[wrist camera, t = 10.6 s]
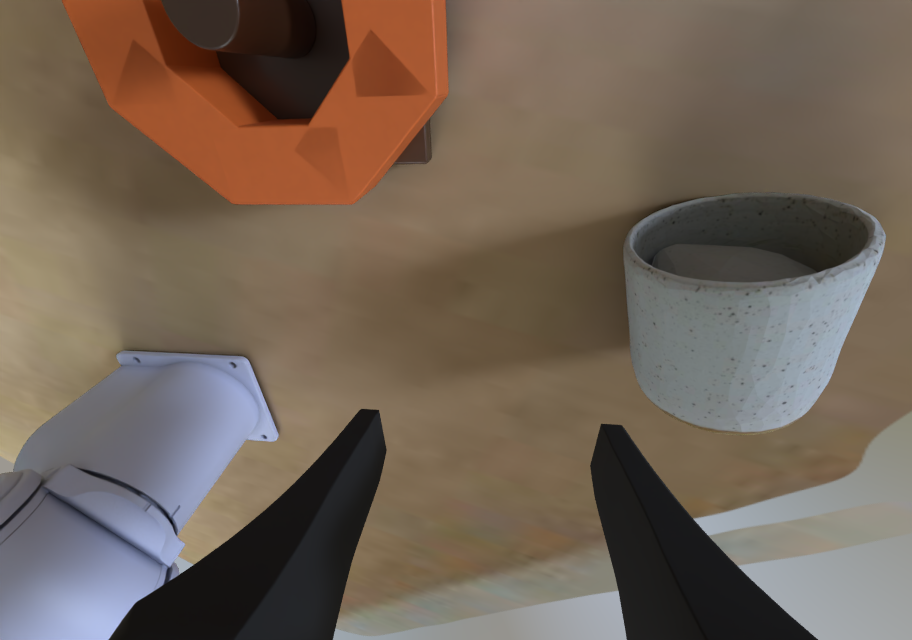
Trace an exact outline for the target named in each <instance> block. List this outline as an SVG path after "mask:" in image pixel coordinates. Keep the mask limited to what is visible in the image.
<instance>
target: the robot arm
mask: <svg viewBox="0 0 912 640" xmlns="http://www.w3.org/2000/svg"><path fill="white" fill-rule="evenodd" d="M116 357H117V360H118V361H119V363H120V364H121V367H119V368H118V369H117V370H115V371H114V372H112V373H111V374H110V375H108V376H107V377H106V378H104V379H103V380H102V381H100V382H99V383H98V384H96V385H95V386H94V387H92V388H91V389H90V390H88V391H87V392H86V393H84V394H83V395H82V396H80V397H79V398H78V399H76V400H75V401H74V402H72V403H71V404H70V405H68V406H67V407H66V408H64V409H63V410H62V411H60V412H59V413H58V414H56V415H55V416H54V417H52V418H51V419H50V420H48V421H47V422H46V423H44V424H43V425H42V426H41V427H40V428H38V429H37V430H36V431H35V432H34V433H33V434H32V435H31V436H30V438H29V439H28V440H27V442H26V443H25V444H24V446H23V448H22V449H21V451H20V453H19V455H18V457H17V459H16V462H15V465H14V469H13V472H9V473H2V474H0V640H333V636H334V631H335V627H336V623H337V619H338V615H339V611H340V606H341V602H342V598H343V594H344V590H345V586H346V582H347V578H348V574H349V571H350V567H351V563H352V560H353V556H354V553H355V550H356V547H357V544H358V541H359V538H360V536H361V533H362V530H363V527H364V524H365V521H366V519H367V516H368V513H369V510H370V507H371V504H372V502H373V499H374V496H375V493H376V490H377V487H378V484H379V481H380V477H381V473H382V469H383V464H384V460H385V455H386V445H385V440H384V435H383V429H382V424H381V418H380V413H379V410H370V409H361V410H360V411H359V412H358V413H357V414H356V415H355V416H354V418H353V419H352V420H351V421H350V422H349V424H348V425H347V426H346V427H345V428H344V430H343V431H342V432H341V433H340V434H339V436H338V437H337V438H336V439H335V440H334V441H333V443H332V444H331V445H330V446H329V447H328V448H327V449H326V450H325V451H324V453H323V454H322V455H321V456H320V457H319V458H318V459H317V460H316V461H315V462H314V464H313V465H312V466H311V467H310V468H309V469H308V470H307V471H306V472H305V473H304V474H303V475H302V476H301V477H300V478H299V479H298V480H297V481H296V482H295V483H294V484H293V485H292V486H291V487H290V488H289V489H288V490H287V491H286V492H285V493H284V494H282V495H281V496H280V497H279V498H278V499H277V500H276V501H275V502H274V503H273V504H271V505H270V506H269V507H268V508H267V509H266V510H265V511H263V512H262V513H261V514H260V515H259V516H257V517H256V518H255V519H254V520H253V521H251V522H250V523H249V524H248V525H247V526H245V527H244V528H243V529H242V530H240V531H239V532H238V533H237V534H235V535H234V536H233V537H231V538H230V539H229V540H228V541H226V542H225V543H223V544H222V545H221V546H219V547H218V548H217V549H215V550H214V551H212V552H211V553H210V554H208V555H207V556H206V557H204V558H203V559H201V560H200V561H199V562H197V563H196V564H194V565H193V566H192V567H190V568H189V569H187V570H186V571H184V572H183V573H181V574H180V575H179V569H178V567H177V565H176V564H175V563H174V561H175V559H176V557H177V556H178V555H179V553H180V552H181V551H182V549H183V548H184V546H185V543H184V542H182V541H181V540H180V539H179V538H178V537H177V535H178V534H179V532H180V531H181V530H182V528H183V527H184V526H185V524H186V523H187V521H188V520H189V519H190V517H191V516H192V514H193V513H194V512H195V510H196V509H197V507H198V506H199V505H200V503H201V502H202V500H203V499H204V498H205V496H206V495H207V493H208V492H209V491H210V489H211V488H212V486H213V485H214V484H215V482H216V481H217V479H218V478H219V477H220V475H221V474H222V473H223V471H224V470H225V468H226V467H227V466H228V464H229V463H230V461H231V460H232V459H233V457H234V456H235V454H236V453H237V452H238V450H239V449H240V447H241V446H242V445H243V443H244V442H245V440H257V441H271V442H273V441H276V440H277V438H278V437H279V434H278V432H277V429H276V427H275V424H274V422H273V419H272V417H271V414H270V412H269V409H268V407H267V404H266V402H265V399H264V397H263V394H262V392H261V389H260V387H259V384H258V382H257V379H256V377H255V374H254V372H253V370H252V367H251V365H250V362H249V361H248V359H246V358H245V357H242V356H225V355H205V354H185V353H164V352H144V351H121V352H119V353H118V354H117V355H116ZM590 467H591V474H592V482H593V488H594V495H595V500H596V504H597V508H598V512H599V516H600V520H601V524H602V527H603V531H604V535H605V539H606V543H607V546H608V550H609V554H610V558H611V561H612V565H613V569H614V573H615V577H616V581H617V586H618V590H619V596H620V602H621V607H622V613H623V619H624V625H625V630H626V637H627V640H818V639H816V638H815V637H814V636H813V635H812V634H810V633H809V632H808V631H807V630H806V629H805V628H804V627H803V626H801V625H800V624H799V623H798V622H797V621H796V620H794V619H793V618H792V617H791V616H790V615H789V614H788V613H786V612H785V611H784V610H783V609H782V608H781V607H780V606H779V605H778V604H777V603H776V602H775V601H774V600H772V599H771V598H770V597H769V596H768V595H767V594H766V593H765V592H764V591H763V590H762V589H761V588H759V587H758V586H757V585H756V584H755V583H754V582H753V581H752V580H751V579H750V578H749V577H748V576H747V575H746V574H745V573H744V572H743V571H742V570H741V569H739V567H738V566H737V565H736V564H735V563H734V562H733V561H732V560H731V559H730V558H729V557H728V556H727V555H726V554H725V553H724V552H723V551H722V550H721V549H720V548H719V547H718V546H717V545H716V544H715V543H714V542H713V541H712V539H711V538H710V537H709V536H708V535H707V534H706V533H705V532H704V531H703V530H702V529H701V527H700V526H699V525H698V524H697V523H696V522H695V521H694V519H693V518H692V517H691V516H690V515H689V514H688V512H687V511H686V510H685V509H684V508H683V506H682V505H681V504H680V503H679V502H678V500H677V499H676V498H675V497H674V495H673V494H672V493H671V492H670V490H669V489H668V488H667V487H666V485H665V484H664V483H663V481H662V480H661V479H660V478H659V476H658V475H657V474H656V472H655V471H654V470H653V468H652V467H651V466H650V464H649V463H648V462H647V460H646V459H645V457H644V456H643V455H642V453H641V452H640V450H639V449H638V448H637V446H636V445H635V443H634V442H633V440H632V439H631V438H630V436H629V435H628V433H627V432H626V430H625V429H624V428H623V426H622V425H611V424H601V426H600V430H599V434H598V438H597V442H596V446H595V450H594V453H593V457H592V461H591V465H590Z"/></svg>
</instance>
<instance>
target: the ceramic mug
mask: <svg viewBox="0 0 912 640" xmlns="http://www.w3.org/2000/svg"><path fill="white" fill-rule="evenodd" d="M885 239H886V235H885V233H884V231H883V229H882V227H881V224H880V223H879V222H878V221H877V219H876V218H875V217H874V216H872V215H870V214H869V213H867V212H865V211H863V210H861V209H860V208H858V207H856V206H853V205H850V204H846V203H842V202H839V201H835V200H831V199H828V198H821V197H816V196H811V195H804V194H789V193H775V192H771V193H757V192H756V193H734V194H728V195H721V196H715V197H707V198H700V199H696V200H692V201H688V202H683V203H680V204H677V205H672V206H670V207H668V208H665V209H661V210H659V211H657V212H654V213H652V214H651V215H649V216H648V217H646V218H644V219H642V220H641V221H639V222H638V223H637V224H635V225H634V226H633V227H632V228H631V230H630V231H629V233H628V234H627V236H626V239H625V241H624V246H623V254H624V267H625V278H626V294H627V309H628V319H629V331H630V351H631V359H632V364H633V367H634V370H635V375H636V378H637V381H638V383H639V385H640V387H641V389H642V390H643V392H644V393H645V395H646V396H647V398H648V399H649V400H650V401H651V402H652V403H653V404H654V405H655V406H657V407H658V408H659V409H660V410H661V411H663V412H664V413H666V414H667V415H669V416H671V417H672V418H674V419H676V420H678V421H680V422H683V423H685V424H688V425H690V426H692V427H695V428H698V429H702V430H706V431H709V432H713V433H720V434H729V435H754V434H762V433H769V432H772V431H775V430H778V429H781V428H784V427H787V426H789V425H790V424H792V423H793V422H795V421H797V420H798V419H800V418H801V417H802V416H803V415H804V414H805V413H806V412H807V411H808V410H809V409H810V408H811V407H812V405H813V404H814V403H815V402H816V400H817V399H818V397H819V396H820V394H821V393H822V391H823V390H824V388H825V387H826V385H827V384H828V382H829V380H830V378H831V375H832V373H833V371H834V368H835V365H836V362H837V359H838V356H839V353H840V350H841V347H842V345H843V343H844V340H845V338H846V336H847V334H848V331H849V329H850V327H851V325H852V322H853V320H854V318H855V316H856V313H857V311H858V309H859V307H860V304H861V302H862V300H863V298H864V295H865V293H866V291H867V288H868V286H869V284H870V282H871V280H872V277H873V275H874V273H875V271H876V268H877V266H878V263H879V261H880V258H881V256H882V253H883V249H884V245H885Z"/></svg>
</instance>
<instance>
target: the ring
mask: <svg viewBox="0 0 912 640" xmlns="http://www.w3.org/2000/svg"><path fill="white" fill-rule="evenodd" d="M62 2H63V5H64V7H65V9H66V11H67V13H68V16H69V18H70V20H71V22H72V24H73V27H74V29H75V31H76V33H77V36H78V38H79V40H80V42H81V44H82V47H83V49H84V51H85V53H86V56H87V58H88V60H89V62H90V64H91V67H92V69H93V71H94V73H95V75H96V78H97V80H98V82H99V84H100V87H101V89H102V91H103V93H104V95H105V98H106V100H107V102H108V104H109V106H110V107H111V108H112V109H113V110H114V111H116V112H117V113H118V114H120V115H121V116H122V117H123V118H125V119H126V120H127V121H128V122H130V123H131V124H132V125H133V126H135V127H136V128H137V129H138V130H140V131H141V132H142V133H144V134H145V135H146V136H147V137H149V138H150V139H151V140H152V141H154V142H155V143H156V144H157V145H159V146H160V147H161V148H162V149H164V150H165V151H166V152H168V153H169V154H170V155H171V156H173V157H174V158H175V159H176V160H178V161H179V162H180V163H181V164H183V165H184V166H185V167H186V168H188V169H189V170H190V171H192V172H193V173H194V174H195V175H197V176H198V177H199V178H200V179H202V180H203V181H204V182H205V183H207V184H208V185H209V186H210V187H212V188H213V189H214V190H216V191H217V192H218V193H219V194H221V195H222V196H223V197H224V198H226V199H227V200H228V201H229V202H231V203H232V204H354V203H355V202H357V201H358V200H359V199H360V198H361V197H363V196H364V195H365V194H366V193H367V192H369V191H370V190H371V189H372V188H374V187H375V186H376V185H377V183H378V182H379V181H380V180H381V178H382V177H383V176H384V175H385V173H386V172H387V171H388V170H389V168H390V167H391V166H392V165H393V163H394V162H395V161H396V160H397V158H398V157H399V156H400V155H401V153H402V152H403V151H404V150H405V148H406V147H407V146H408V145H409V143H410V142H411V141H412V140H413V138H414V137H415V136H416V135H417V133H418V132H419V131H420V130H421V128H422V127H423V126H424V125H425V123H426V122H427V121H428V120H429V118H430V117H431V116H432V115H433V113H434V112H435V111H436V109H437V108H438V107H439V106H440V104H441V103H442V102H443V101H444V99H445V98H446V97H447V95H448V62H447V32H446V2H445V0H341V2H342V9H343V16H344V22H345V29H346V36H347V43H348V50H349V57H350V58H349V60H348V61H347V63H346V65H345V66H344V68H343V69H342V71H341V73H340V74H339V76H338V77H337V79H336V81H335V82H334V84H333V85H332V87H331V89H330V90H329V92H328V93H327V95H326V97H325V98H324V100H323V101H322V103H321V105H320V106H319V108H318V109H317V111H316V113H315V114H314V116H313V117H312V118H309V119H277V118H276V117H275V116H274V115H273V114H271V113H270V112H269V111H268V110H267V109H266V108H265V107H264V106H263V105H262V104H260V103H259V102H258V101H257V100H256V99H255V98H254V97H253V96H252V95H250V94H249V93H248V92H247V91H246V90H245V89H244V88H243V87H242V86H240V85H239V84H238V83H237V82H236V81H235V80H234V79H233V78H232V77H231V76H229V75H228V74H227V73H226V72H225V71H224V70H223V69H222V68H221V66H220V63H219V59H218V56H217V53H216V51H212V50H206V49H203V48H200V47H198V46H196V45H194V44H193V43H191V42H190V41H189V40H187V39H186V38H185V37H184V36H183V35H182V34H181V33H180V32H179V31H178V30H177V29H176V28H175V26H174V25H173V23H172V22H171V21H170V19H169V17H168V15H167V13H166V11H165V9H164V7H163V4H162V2H161V0H62Z"/></svg>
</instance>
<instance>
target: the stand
mask: <svg viewBox="0 0 912 640" xmlns="http://www.w3.org/2000/svg"><path fill="white" fill-rule="evenodd" d="M161 2H162V4H163V7H164V9H165V11H166V13H167V15H168V17H169V19H170V21H171V22H172V23H173V25H174V26H175V28H176V29H177V30H178V31H179V32H180V33H181V34H182V35H183V36H184V37H185V38H186V39H187V40H189V41H190V42H191V43H193V44H194V45H196V46H198V47H200V48H203V49H206V50H212V51H216V53H217V56H218V59H219V63H220V66H221V68H222V69H223V70H224V71H225V72H226V73H227V74H228V75H229V76H231V77H232V78H233V79H234V80H235V81H236V82H237V83H238V84H239V85H240V86H242V87H243V88H244V89H245V90H246V91H247V92H248V93H249V94H250V95H252V96H253V97H254V98H255V99H256V100H257V101H258V102H259V103H260V104H262V105H263V106H264V107H265V108H266V109H267V110H268V111H269V112H270V113H271V114H273V115H274V116H275V117H276V118H277V119H309V118H312V117H313V116H314V114H315V113H316V111H317V109H318V108H319V106H320V105H321V103H322V101H323V100H324V98H325V97H326V95H327V93H328V92H329V90H330V89H331V87H332V85H333V84H334V82H335V81H336V79H337V77H338V76H339V74H340V73H341V71H342V69H343V68H344V66H345V65H346V63H347V61H348V60H349V58H350V57H349V50H348V43H347V36H346V29H345V22H344V16H343V9H342V2H341V0H161ZM431 158H432V156H431V137H430V119H429V120H428V121H427V122H426V123H425V125H424V126H423V127H422V128H421V130H420V131H419V132H418V133H417V135H416V136H415V137H414V138H413V140H412V141H411V142H410V143H409V145H408V146H407V147H406V148H405V150H404V151H403V152H402V153H401V155H400V156H399V157H398V158H397V160H396V161H395V162H394V163H393V164H426V163H428V162H429V161H430V160H431Z"/></svg>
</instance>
